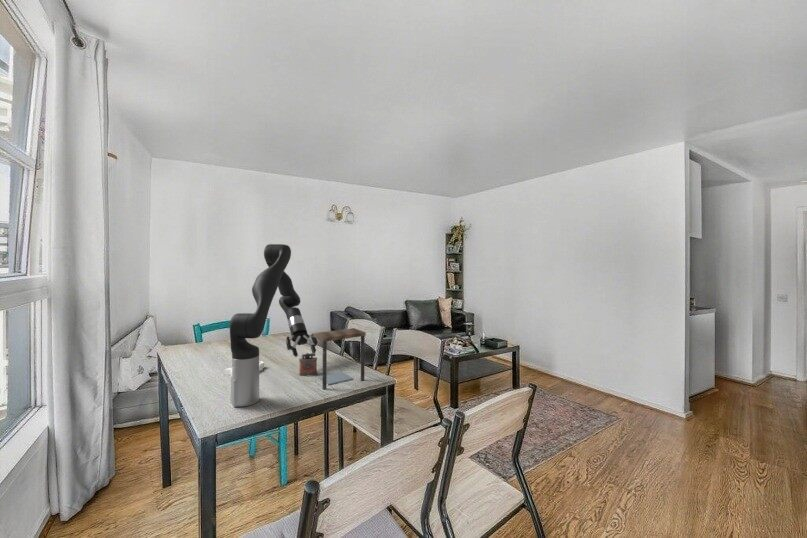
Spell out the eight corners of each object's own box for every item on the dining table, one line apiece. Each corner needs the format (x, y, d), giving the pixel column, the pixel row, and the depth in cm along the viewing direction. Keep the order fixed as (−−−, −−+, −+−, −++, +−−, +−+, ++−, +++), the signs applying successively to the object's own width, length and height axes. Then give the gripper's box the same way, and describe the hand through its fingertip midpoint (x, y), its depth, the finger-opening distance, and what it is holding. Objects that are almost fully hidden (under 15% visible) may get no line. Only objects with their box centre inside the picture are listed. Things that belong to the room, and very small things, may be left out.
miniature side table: (322, 390, 138) (323, 338, 137) (312, 382, 147) (312, 333, 146) (365, 380, 150) (365, 332, 149) (353, 373, 159) (353, 328, 158)
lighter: (298, 376, 154) (298, 354, 154) (299, 374, 157) (299, 352, 157) (317, 375, 156) (317, 353, 156) (316, 372, 160) (316, 351, 159)
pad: (328, 385, 144) (328, 384, 144) (317, 377, 153) (317, 376, 153) (353, 379, 151) (353, 378, 151) (341, 372, 160) (341, 371, 160)
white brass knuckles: (247, 366, 170) (271, 369, 166) (217, 377, 153) (243, 381, 148) (247, 359, 170) (271, 362, 166) (217, 370, 153) (243, 373, 148)
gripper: (284, 323, 162) (292, 352, 153) (312, 320, 170) (322, 348, 161) (281, 332, 166) (288, 361, 157) (309, 329, 174) (317, 356, 166)
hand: (305, 354), depth 159 cm, fingers open, 8 cm apart
